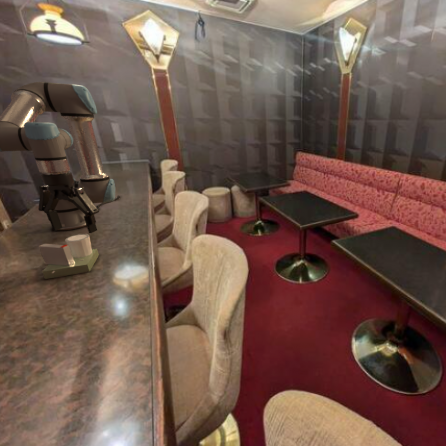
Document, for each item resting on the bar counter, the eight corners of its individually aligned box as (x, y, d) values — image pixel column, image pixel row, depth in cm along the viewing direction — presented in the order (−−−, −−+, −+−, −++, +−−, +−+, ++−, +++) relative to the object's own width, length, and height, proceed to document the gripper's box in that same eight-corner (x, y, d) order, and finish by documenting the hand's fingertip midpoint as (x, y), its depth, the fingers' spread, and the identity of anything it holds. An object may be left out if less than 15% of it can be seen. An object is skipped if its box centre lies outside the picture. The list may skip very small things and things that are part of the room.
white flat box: (45, 264, 86) (38, 245, 83) (51, 261, 87) (44, 242, 85) (69, 265, 85) (62, 247, 82) (74, 263, 87) (68, 244, 84)
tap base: (49, 262, 92) (46, 255, 91) (98, 255, 98) (96, 248, 97) (28, 285, 79) (25, 277, 78) (87, 275, 85) (85, 267, 84)
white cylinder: (81, 259, 89) (75, 242, 87) (65, 257, 90) (59, 240, 88) (98, 251, 95) (94, 234, 93) (84, 248, 97) (79, 232, 94)
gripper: (101, 172, 84) (116, 228, 92) (33, 168, 86) (53, 224, 94) (81, 176, 77) (99, 237, 85) (8, 172, 79) (32, 232, 87)
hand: (75, 230), depth 90 cm, fingers open, 13 cm apart
